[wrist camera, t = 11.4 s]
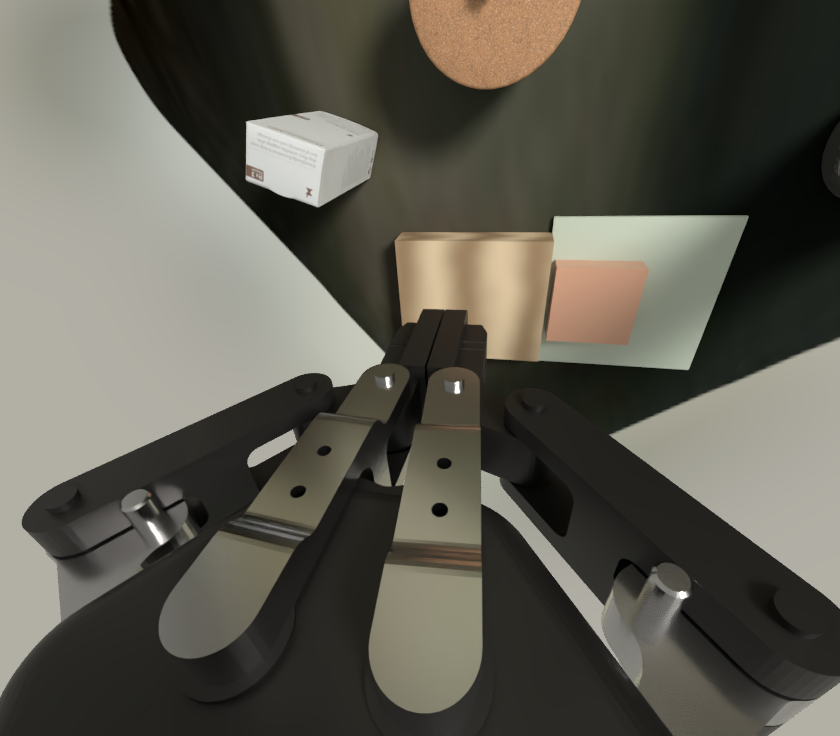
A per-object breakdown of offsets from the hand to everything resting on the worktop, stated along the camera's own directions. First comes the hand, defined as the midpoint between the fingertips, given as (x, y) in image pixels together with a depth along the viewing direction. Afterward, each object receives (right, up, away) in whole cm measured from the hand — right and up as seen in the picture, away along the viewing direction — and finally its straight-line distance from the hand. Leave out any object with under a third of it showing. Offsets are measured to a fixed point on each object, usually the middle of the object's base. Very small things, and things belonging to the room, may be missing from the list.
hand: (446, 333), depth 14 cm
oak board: (+5, +7, +30) cm, 31 cm away
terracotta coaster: (+16, +5, +26) cm, 31 cm away
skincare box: (-8, +20, +24) cm, 33 cm away
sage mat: (+20, +6, +27) cm, 34 cm away
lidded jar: (+5, +27, +17) cm, 32 cm away
